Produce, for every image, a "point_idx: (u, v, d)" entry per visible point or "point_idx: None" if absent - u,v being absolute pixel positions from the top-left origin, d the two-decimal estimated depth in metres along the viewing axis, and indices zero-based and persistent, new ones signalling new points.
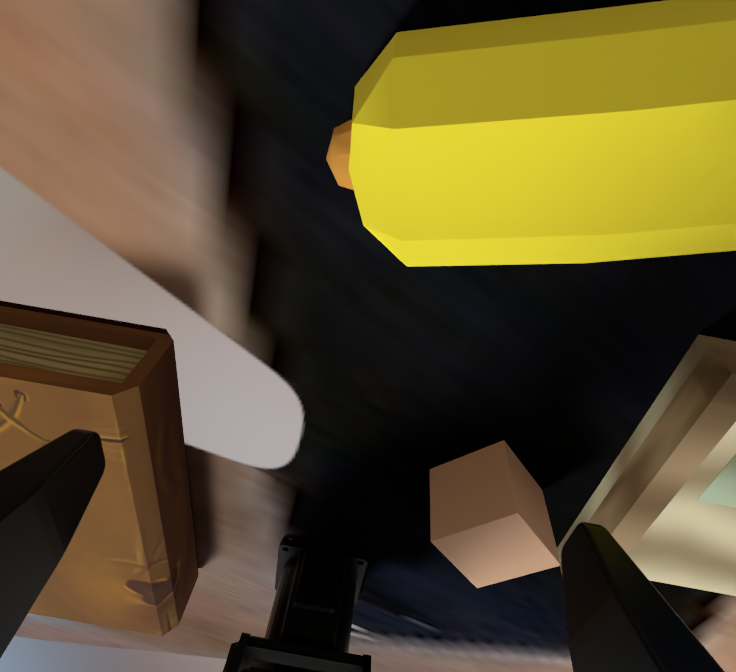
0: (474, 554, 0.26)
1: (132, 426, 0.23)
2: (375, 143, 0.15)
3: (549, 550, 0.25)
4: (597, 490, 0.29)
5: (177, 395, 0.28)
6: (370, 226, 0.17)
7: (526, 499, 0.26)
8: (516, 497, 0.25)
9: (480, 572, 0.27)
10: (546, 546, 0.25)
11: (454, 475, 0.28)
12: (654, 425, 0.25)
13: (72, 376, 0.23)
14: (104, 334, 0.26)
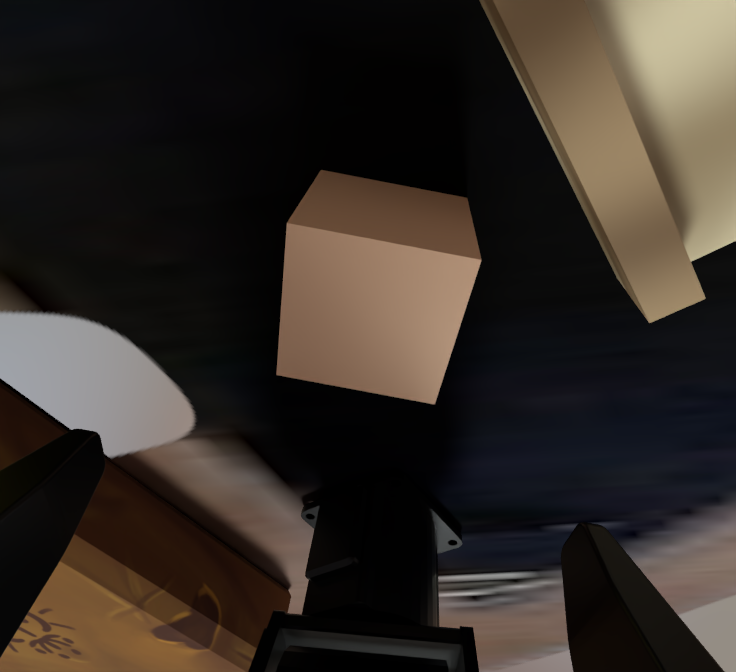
0: (348, 349, 0.14)
1: None
2: None
3: (429, 248, 0.12)
4: (537, 116, 0.15)
5: (23, 408, 0.23)
6: None
7: (362, 209, 0.14)
8: (307, 209, 0.13)
9: (399, 374, 0.15)
10: (412, 245, 0.12)
11: None
12: None
13: None
14: None
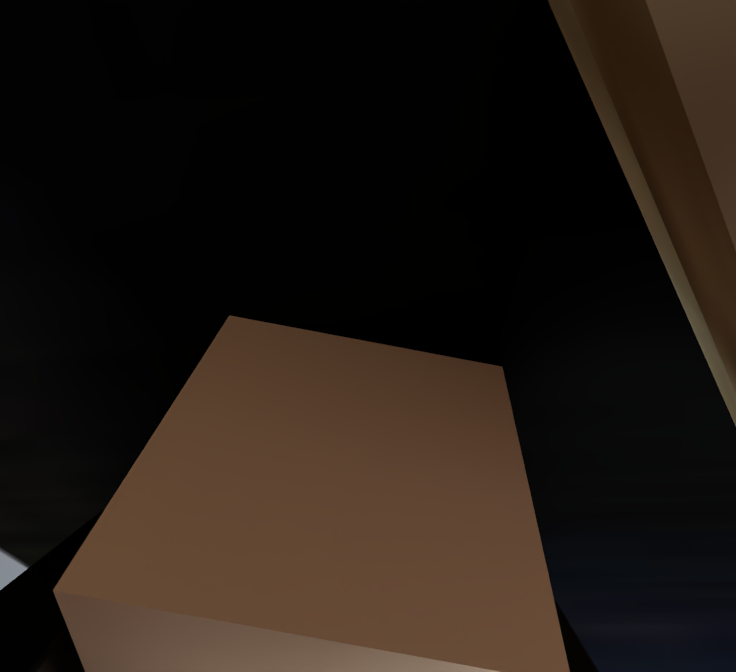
0: None
1: None
2: None
3: (433, 649, 0.05)
4: (655, 238, 0.07)
5: None
6: None
7: (282, 462, 0.06)
8: (142, 497, 0.06)
9: None
10: (389, 642, 0.05)
11: None
12: None
13: None
14: None
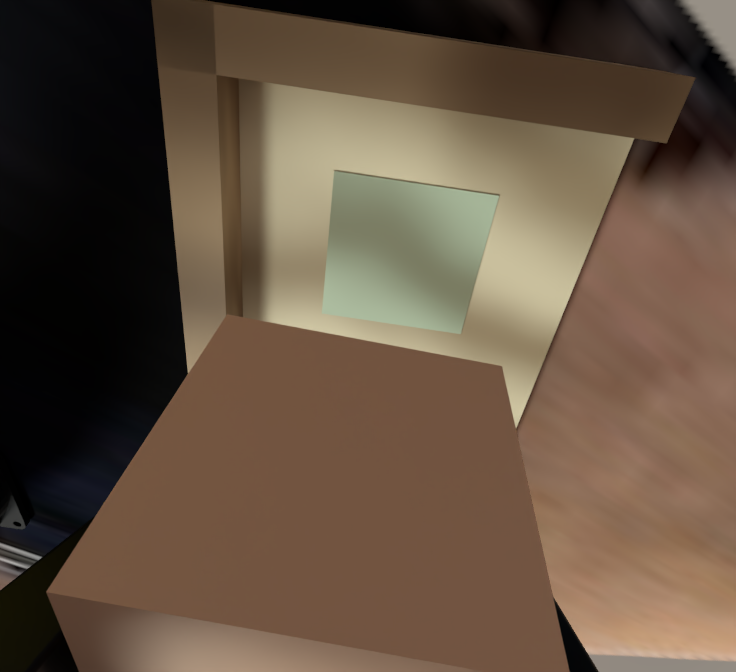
0: None
1: None
2: None
3: (432, 652, 0.05)
4: None
5: None
6: None
7: (280, 462, 0.06)
8: (139, 497, 0.05)
9: None
10: (388, 644, 0.05)
11: None
12: None
13: None
14: None
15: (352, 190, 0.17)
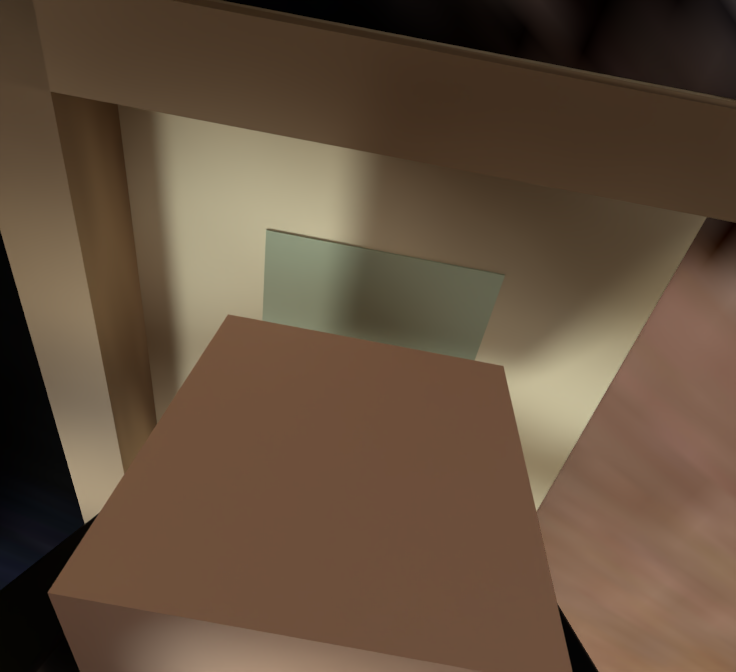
0: None
1: None
2: None
3: (434, 653, 0.05)
4: None
5: None
6: None
7: (281, 462, 0.06)
8: (139, 497, 0.05)
9: None
10: (391, 644, 0.05)
11: None
12: None
13: None
14: None
15: (293, 257, 0.11)
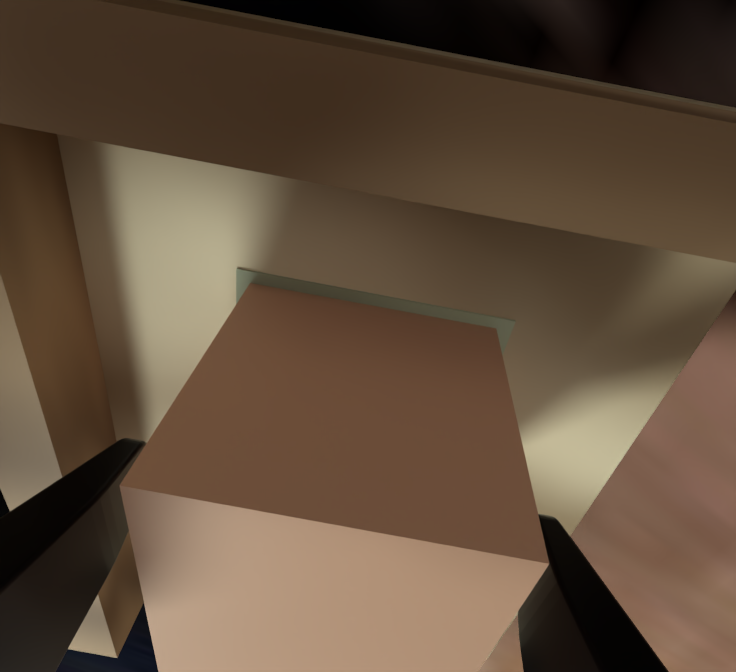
0: (282, 655, 0.08)
1: None
2: None
3: (433, 536, 0.06)
4: None
5: None
6: None
7: (303, 398, 0.07)
8: (186, 421, 0.06)
9: None
10: (398, 530, 0.06)
11: None
12: None
13: None
14: None
15: None
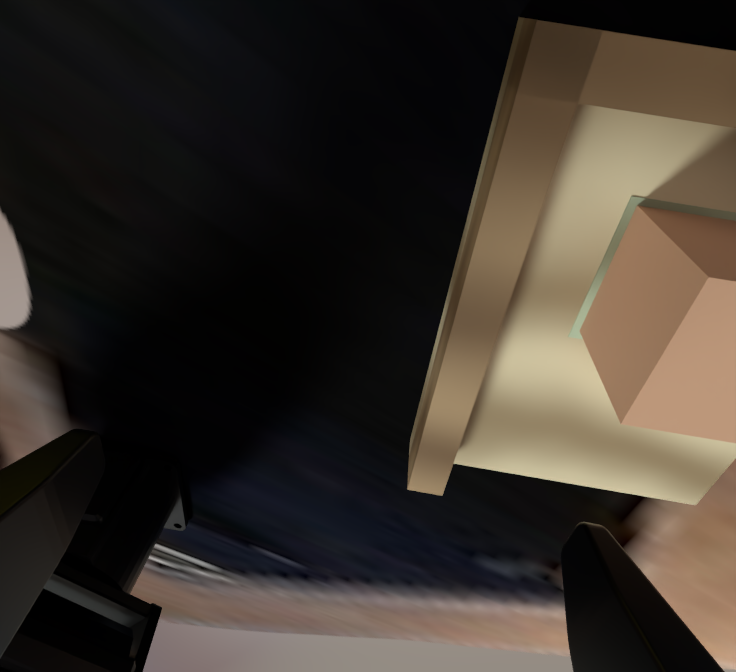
0: (716, 399, 0.14)
1: None
2: None
3: None
4: (437, 337, 0.21)
5: None
6: None
7: None
8: (700, 259, 0.13)
9: None
10: None
11: (606, 311, 0.17)
12: (476, 198, 0.16)
13: None
14: None
15: None
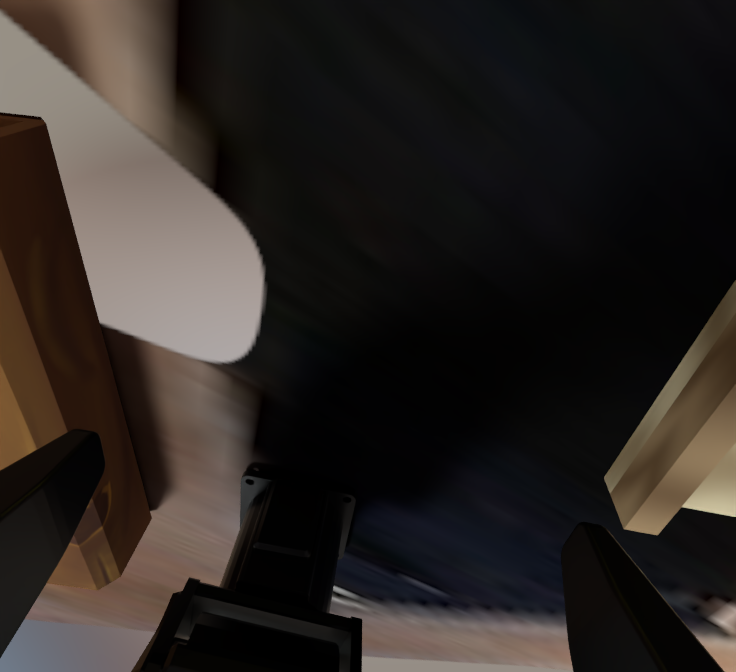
0: None
1: None
2: None
3: None
4: (670, 382, 0.21)
5: (69, 224, 0.19)
6: None
7: None
8: None
9: None
10: None
11: None
12: None
13: None
14: None
15: None
